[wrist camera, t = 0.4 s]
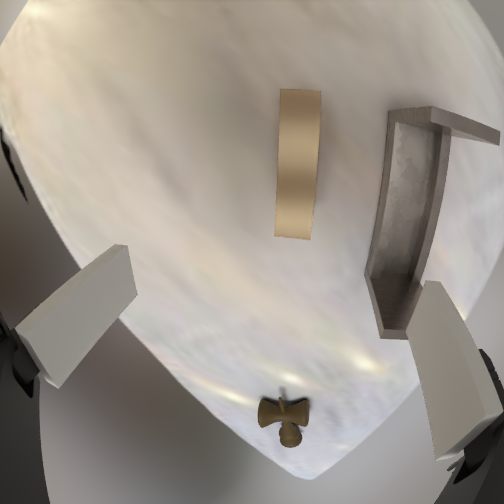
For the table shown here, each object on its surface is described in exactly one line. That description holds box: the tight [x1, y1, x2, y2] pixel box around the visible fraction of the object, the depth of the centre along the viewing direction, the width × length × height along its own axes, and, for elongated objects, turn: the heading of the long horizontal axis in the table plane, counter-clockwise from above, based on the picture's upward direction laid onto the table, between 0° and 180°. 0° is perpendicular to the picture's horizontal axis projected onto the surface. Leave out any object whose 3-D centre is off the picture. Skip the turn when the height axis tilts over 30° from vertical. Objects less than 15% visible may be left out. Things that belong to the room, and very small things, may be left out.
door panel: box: [274, 89, 321, 240], centre depth 25 cm, size 12×3×10 cm, turn 179°
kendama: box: [258, 397, 309, 448], centre depth 48 cm, size 6×10×20 cm
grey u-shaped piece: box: [364, 106, 500, 340], centre depth 23 cm, size 20×7×12 cm, turn 179°
